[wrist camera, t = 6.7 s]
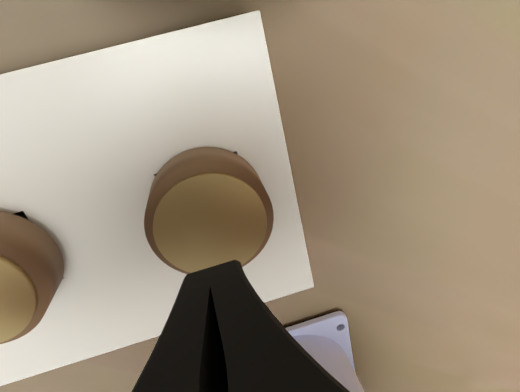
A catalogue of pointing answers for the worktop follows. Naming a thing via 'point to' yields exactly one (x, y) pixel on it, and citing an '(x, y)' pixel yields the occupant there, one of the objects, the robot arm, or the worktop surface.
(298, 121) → the worktop surface
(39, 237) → the knob middle
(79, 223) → the mount plate
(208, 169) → the knob
